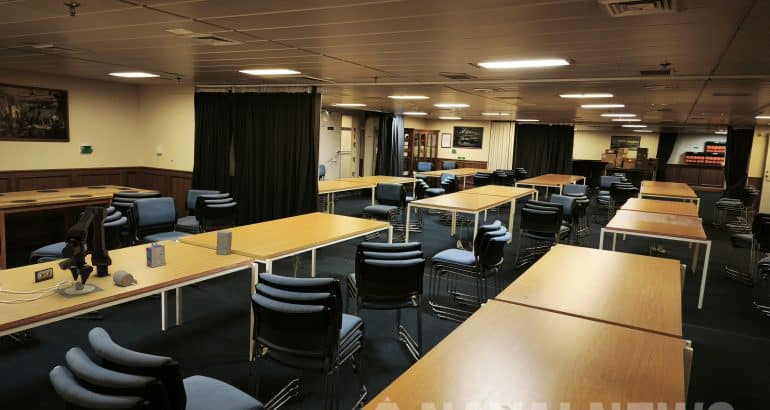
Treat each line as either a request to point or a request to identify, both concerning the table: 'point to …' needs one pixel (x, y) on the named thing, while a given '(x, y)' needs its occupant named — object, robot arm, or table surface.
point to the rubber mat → (61, 291)
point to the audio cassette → (44, 275)
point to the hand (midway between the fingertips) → (79, 282)
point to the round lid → (79, 289)
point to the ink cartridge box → (155, 255)
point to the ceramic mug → (123, 278)
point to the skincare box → (224, 242)
